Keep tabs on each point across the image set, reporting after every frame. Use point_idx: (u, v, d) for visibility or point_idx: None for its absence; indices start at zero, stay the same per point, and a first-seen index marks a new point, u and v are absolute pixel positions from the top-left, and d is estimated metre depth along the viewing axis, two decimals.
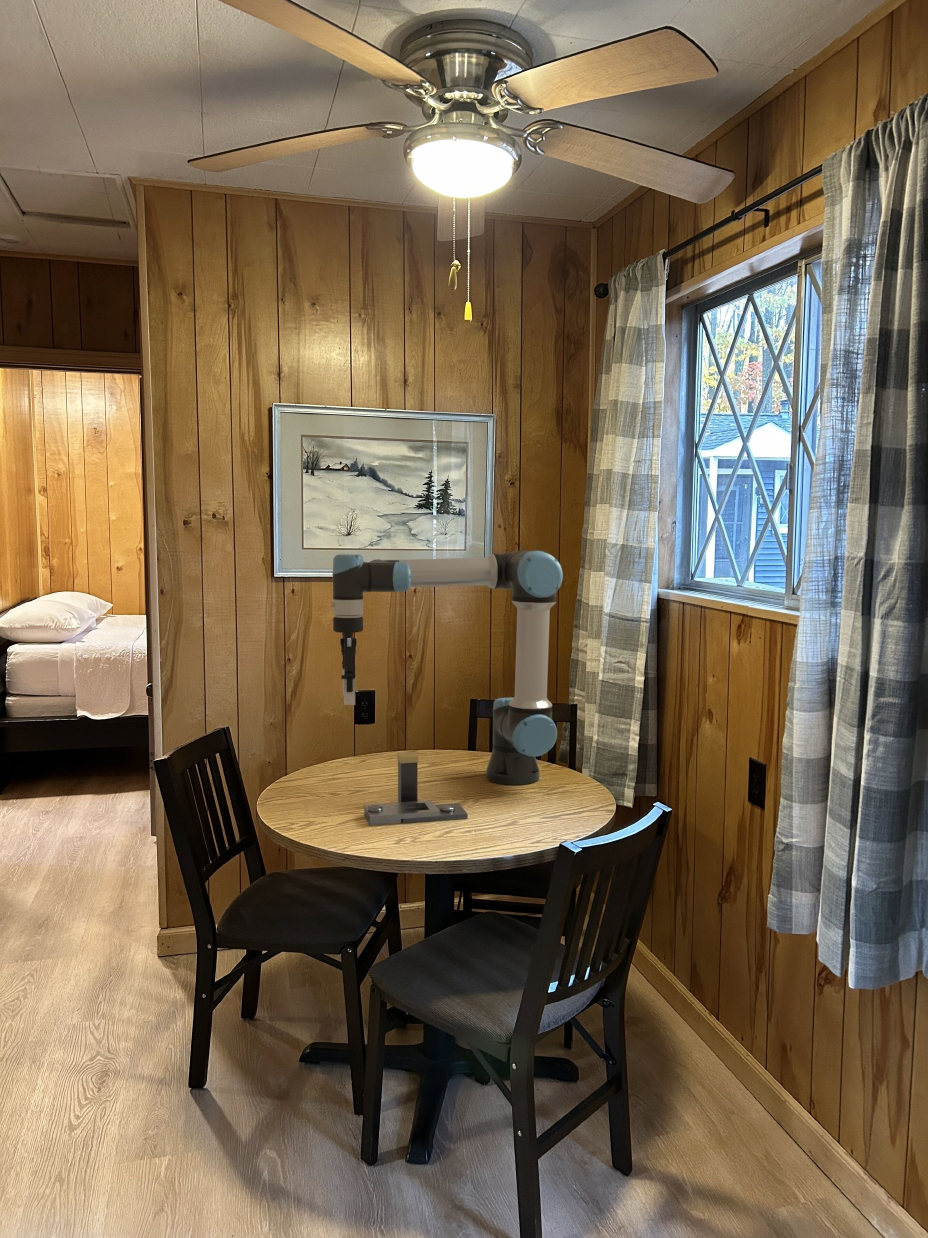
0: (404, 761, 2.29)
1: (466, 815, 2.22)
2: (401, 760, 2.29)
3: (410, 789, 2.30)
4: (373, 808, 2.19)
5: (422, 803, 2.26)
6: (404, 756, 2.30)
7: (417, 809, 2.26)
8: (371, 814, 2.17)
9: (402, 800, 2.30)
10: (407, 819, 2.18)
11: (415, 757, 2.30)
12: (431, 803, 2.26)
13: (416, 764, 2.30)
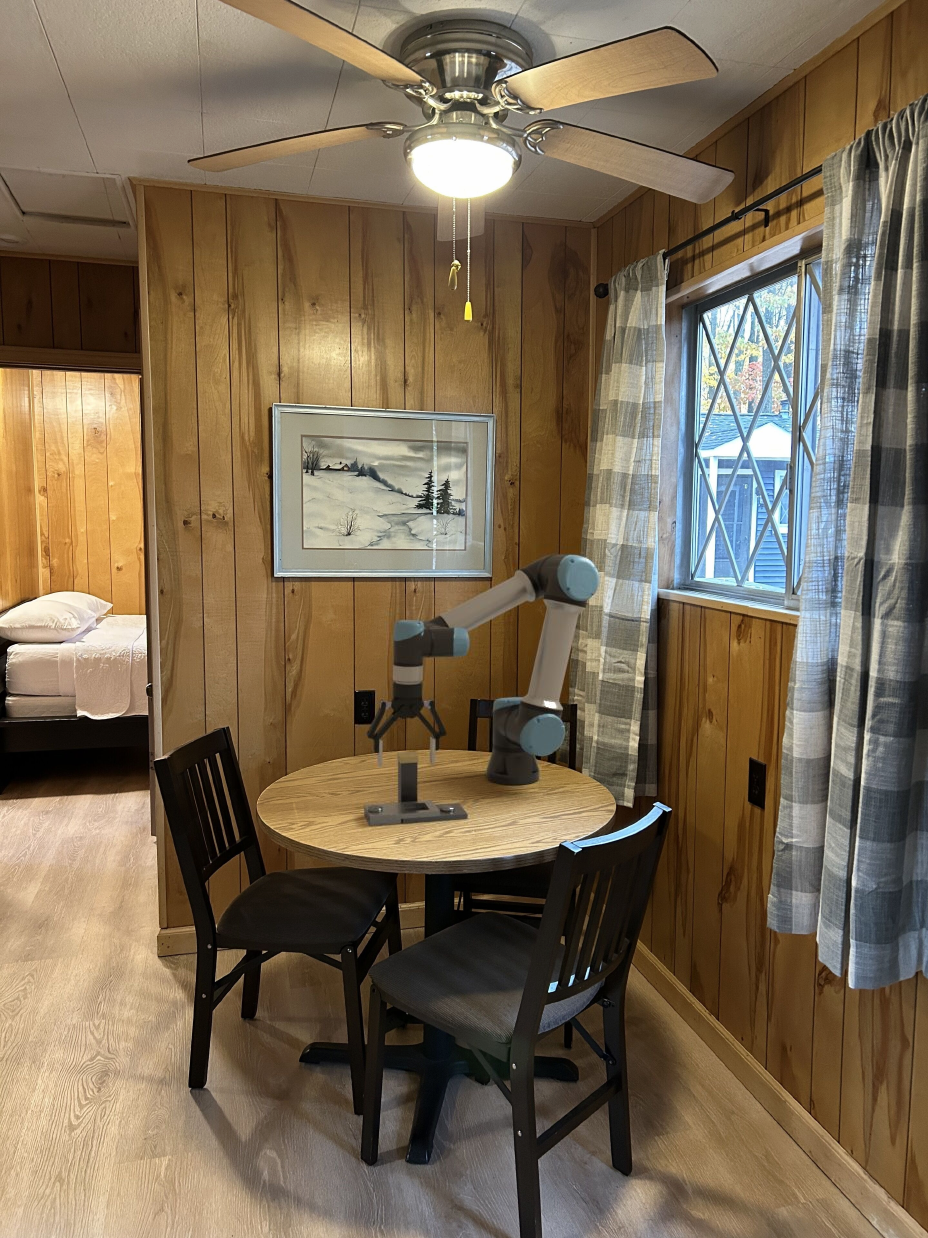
0: (404, 761, 2.29)
1: (466, 815, 2.22)
2: (401, 760, 2.29)
3: (410, 789, 2.30)
4: (373, 808, 2.19)
5: (422, 803, 2.26)
6: (404, 756, 2.30)
7: (417, 809, 2.26)
8: (371, 814, 2.17)
9: (402, 800, 2.30)
10: (407, 819, 2.18)
11: (415, 757, 2.30)
12: (431, 803, 2.26)
13: (416, 764, 2.30)
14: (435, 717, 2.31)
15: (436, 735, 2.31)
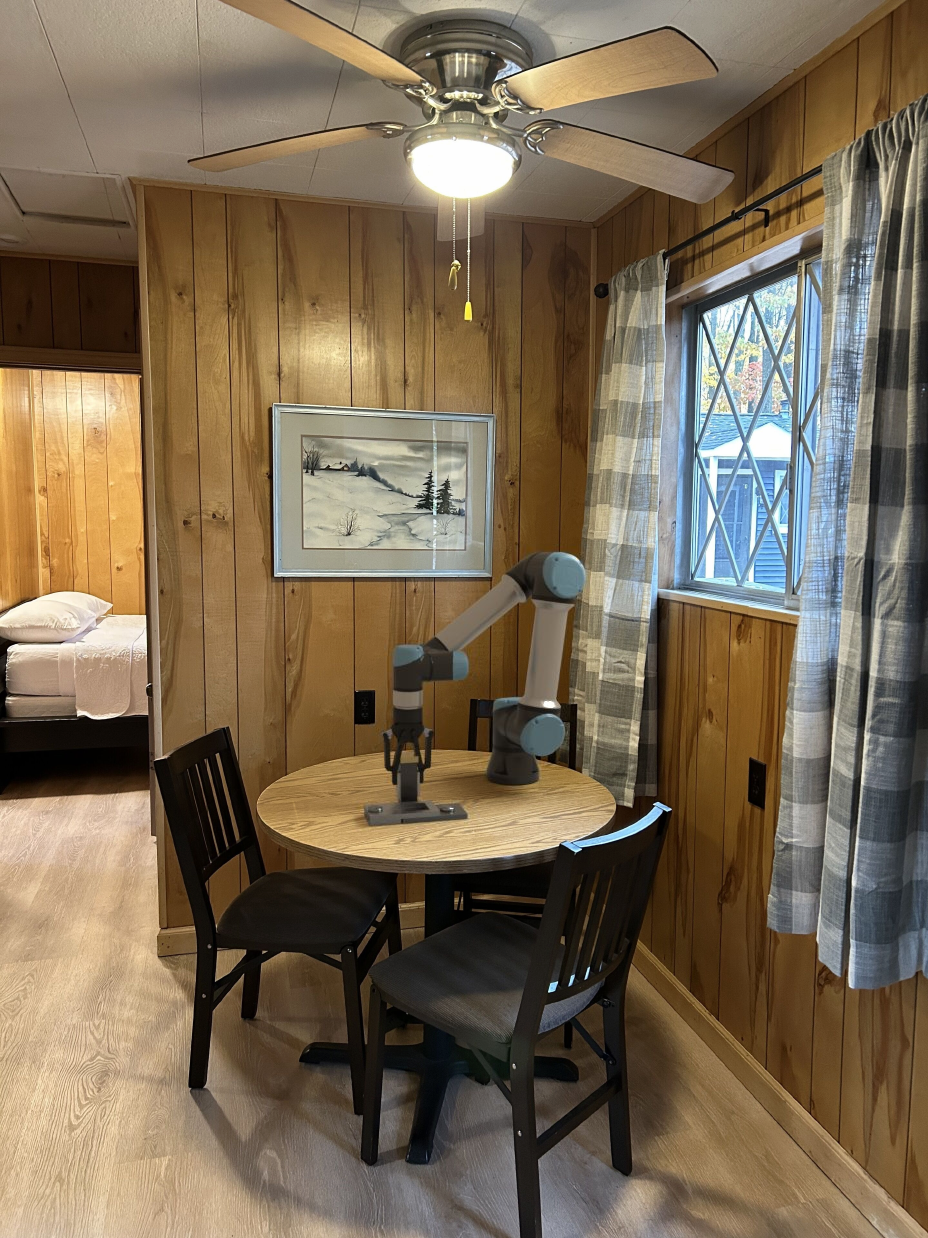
0: (404, 761, 2.29)
1: (466, 815, 2.22)
2: (401, 760, 2.29)
3: (410, 789, 2.30)
4: (373, 808, 2.19)
5: (422, 803, 2.26)
6: (404, 756, 2.30)
7: (417, 809, 2.26)
8: (371, 814, 2.17)
9: (402, 800, 2.30)
10: (407, 819, 2.18)
11: (415, 757, 2.30)
12: (431, 803, 2.26)
13: (416, 764, 2.30)
14: (428, 747, 2.31)
15: (421, 768, 2.31)
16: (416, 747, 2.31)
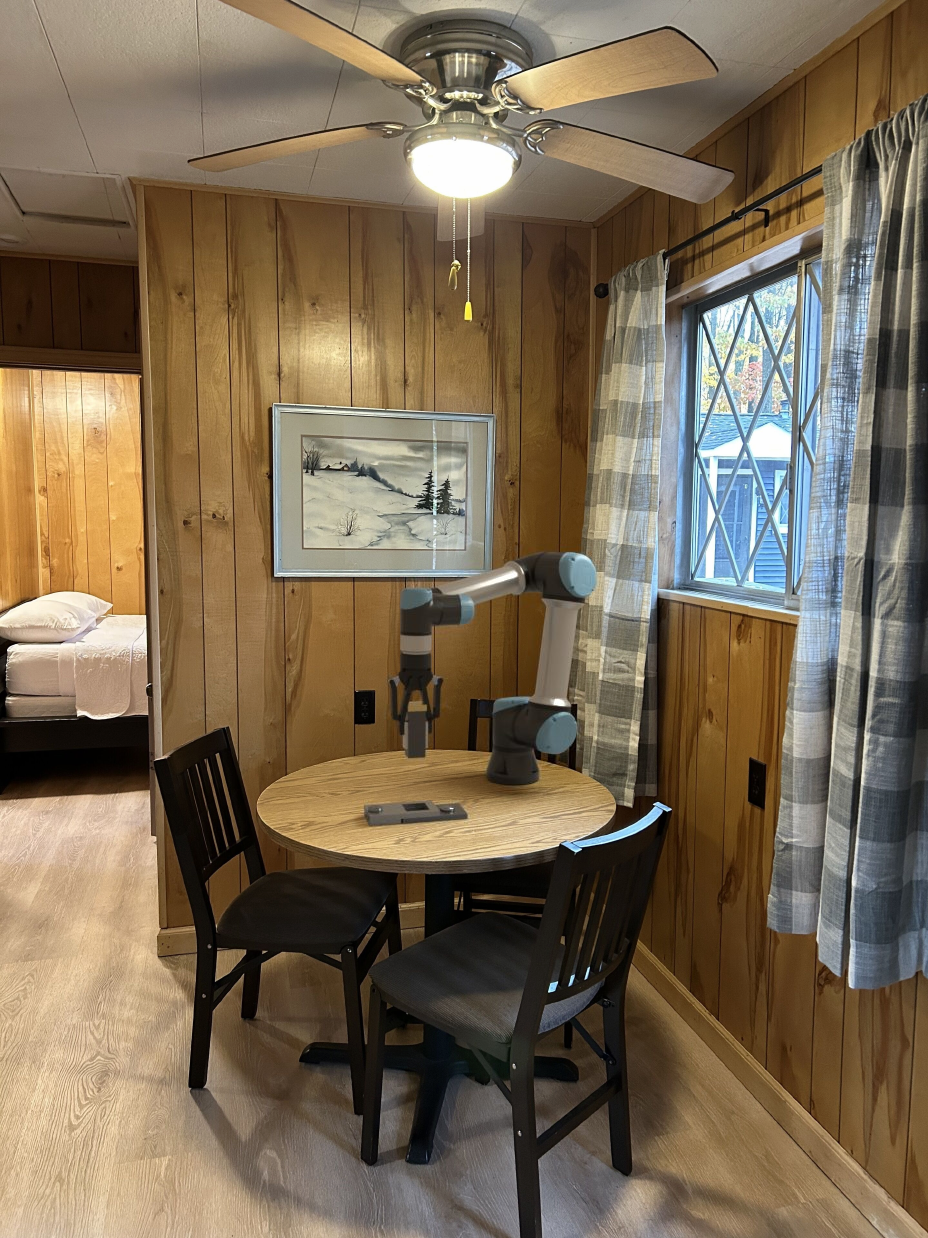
0: (412, 709, 2.18)
1: (466, 815, 2.22)
2: (409, 708, 2.18)
3: (418, 739, 2.19)
4: (373, 808, 2.19)
5: (422, 803, 2.26)
6: (412, 704, 2.18)
7: (417, 809, 2.26)
8: (371, 814, 2.17)
9: (409, 750, 2.19)
10: (407, 819, 2.18)
11: (423, 705, 2.18)
12: (431, 803, 2.26)
13: (424, 713, 2.19)
14: (437, 695, 2.20)
15: (429, 717, 2.20)
16: (424, 695, 2.19)
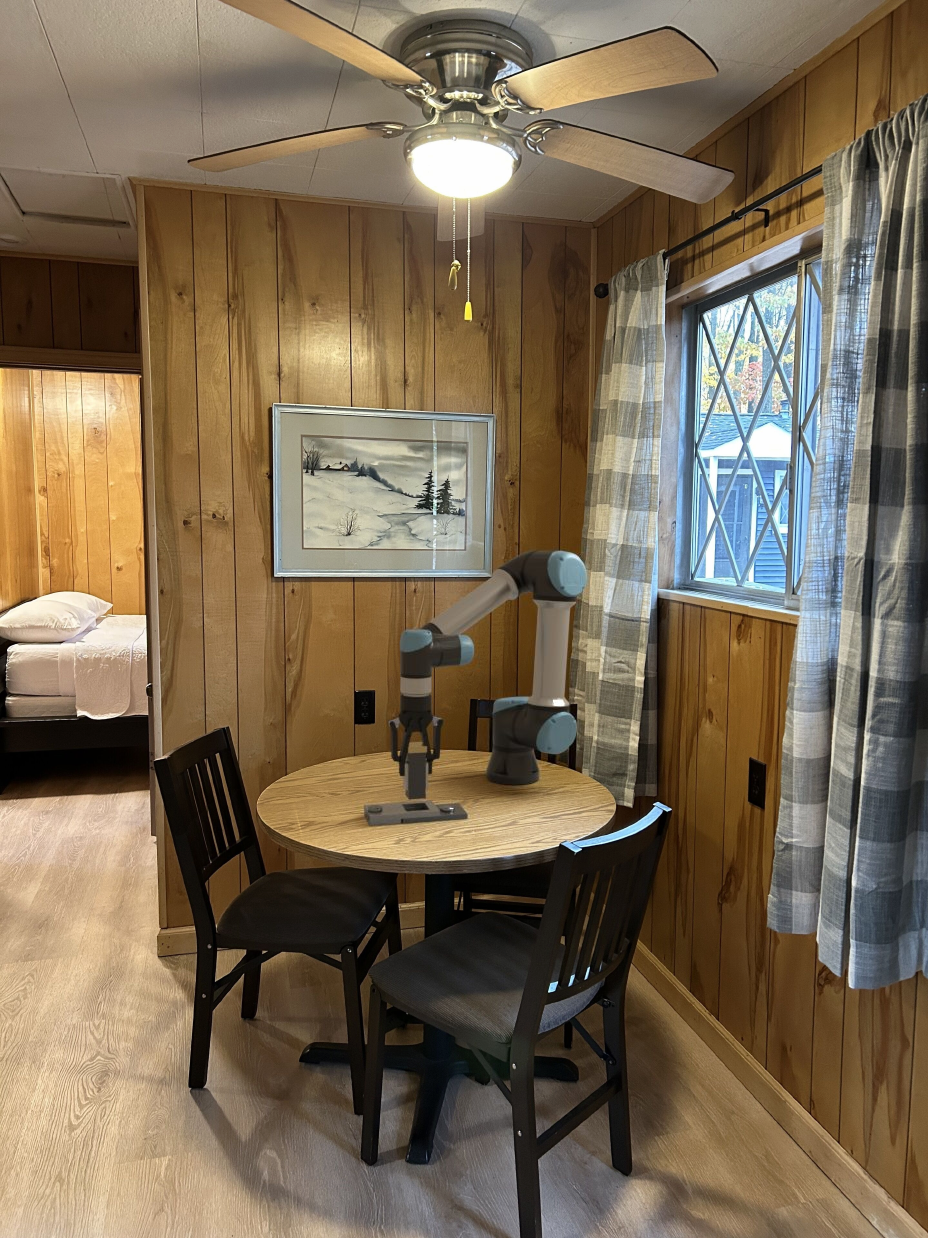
0: (412, 751, 2.19)
1: (466, 815, 2.22)
2: (409, 750, 2.19)
3: (418, 780, 2.20)
4: (373, 808, 2.19)
5: (422, 803, 2.26)
6: (412, 746, 2.20)
7: (417, 809, 2.26)
8: (371, 814, 2.17)
9: (410, 792, 2.20)
10: (407, 819, 2.18)
11: (423, 747, 2.19)
12: (431, 803, 2.26)
13: (424, 754, 2.20)
14: (437, 737, 2.21)
15: (429, 758, 2.21)
16: (424, 736, 2.20)
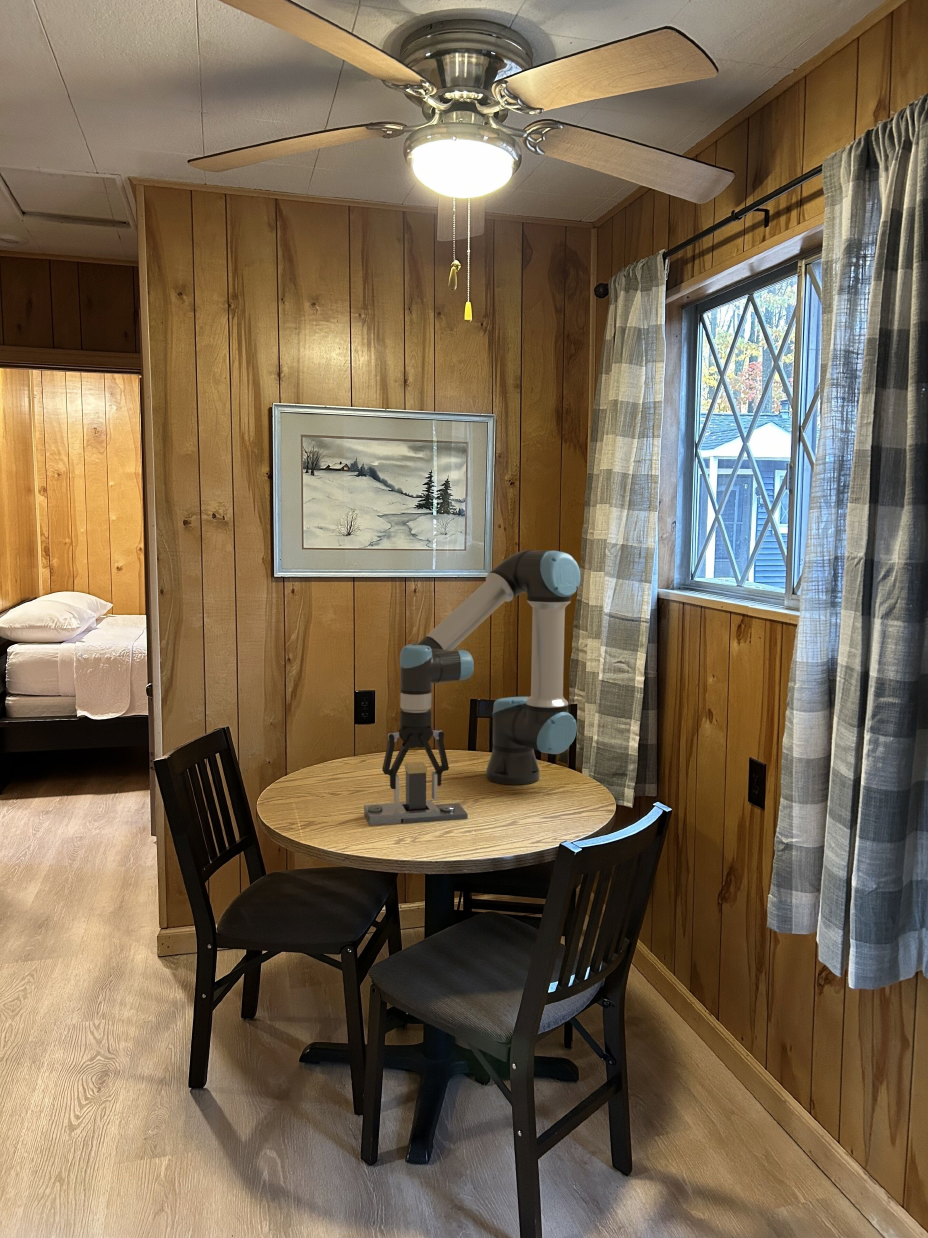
0: (412, 771, 2.19)
1: (466, 815, 2.22)
2: (409, 770, 2.19)
3: (418, 800, 2.21)
4: (373, 808, 2.19)
5: None
6: (412, 766, 2.20)
7: None
8: (371, 814, 2.17)
9: None
10: (407, 819, 2.18)
11: (424, 767, 2.20)
12: (431, 803, 2.26)
13: (425, 774, 2.20)
14: (441, 749, 2.22)
15: (438, 770, 2.22)
16: (428, 751, 2.21)
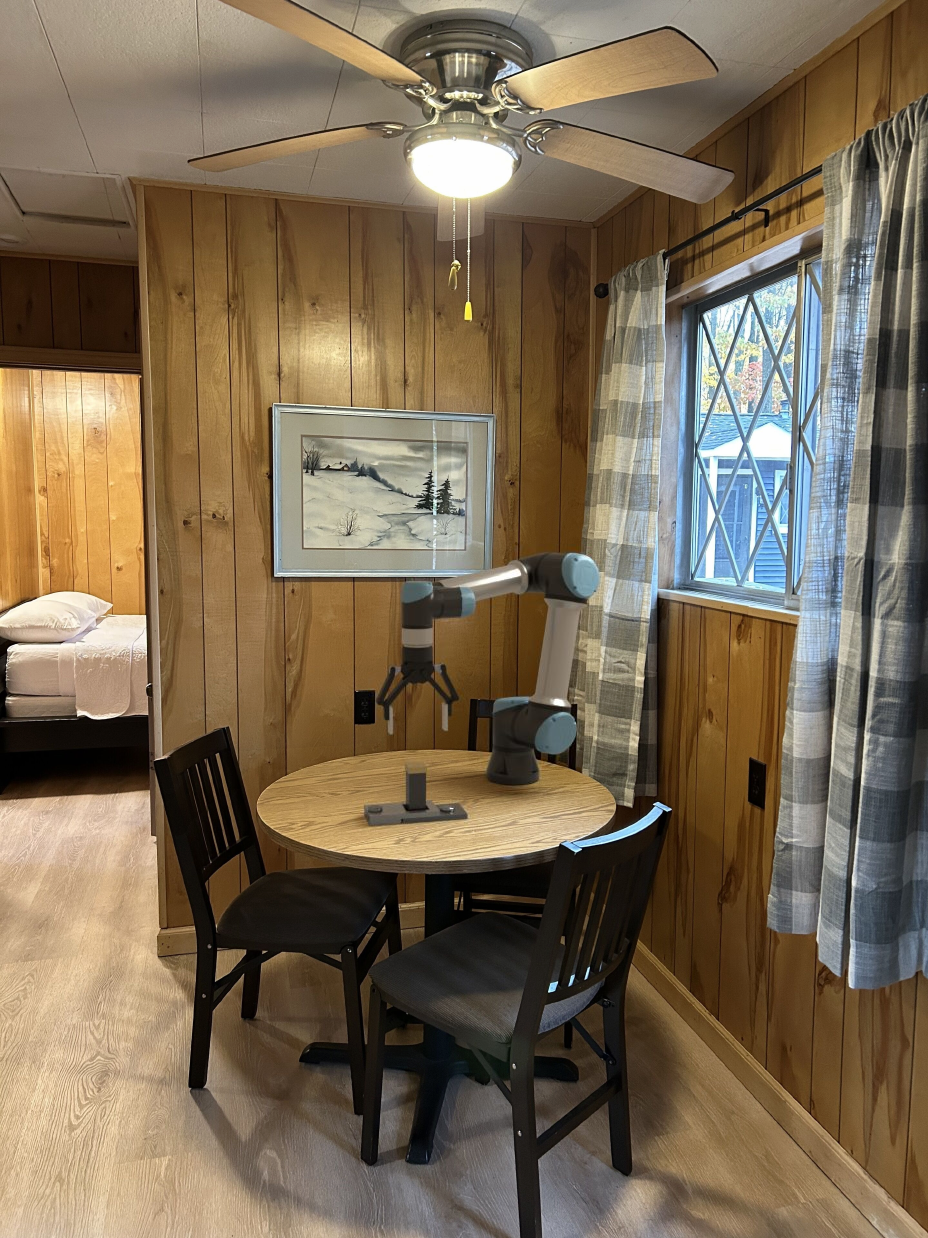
0: (412, 771, 2.19)
1: (466, 815, 2.22)
2: (409, 770, 2.19)
3: (418, 800, 2.21)
4: (373, 808, 2.19)
5: None
6: (412, 766, 2.20)
7: None
8: (371, 814, 2.17)
9: None
10: (407, 819, 2.18)
11: (424, 767, 2.20)
12: (431, 803, 2.26)
13: (425, 774, 2.20)
14: (447, 681, 2.21)
15: (448, 700, 2.22)
16: (434, 684, 2.21)
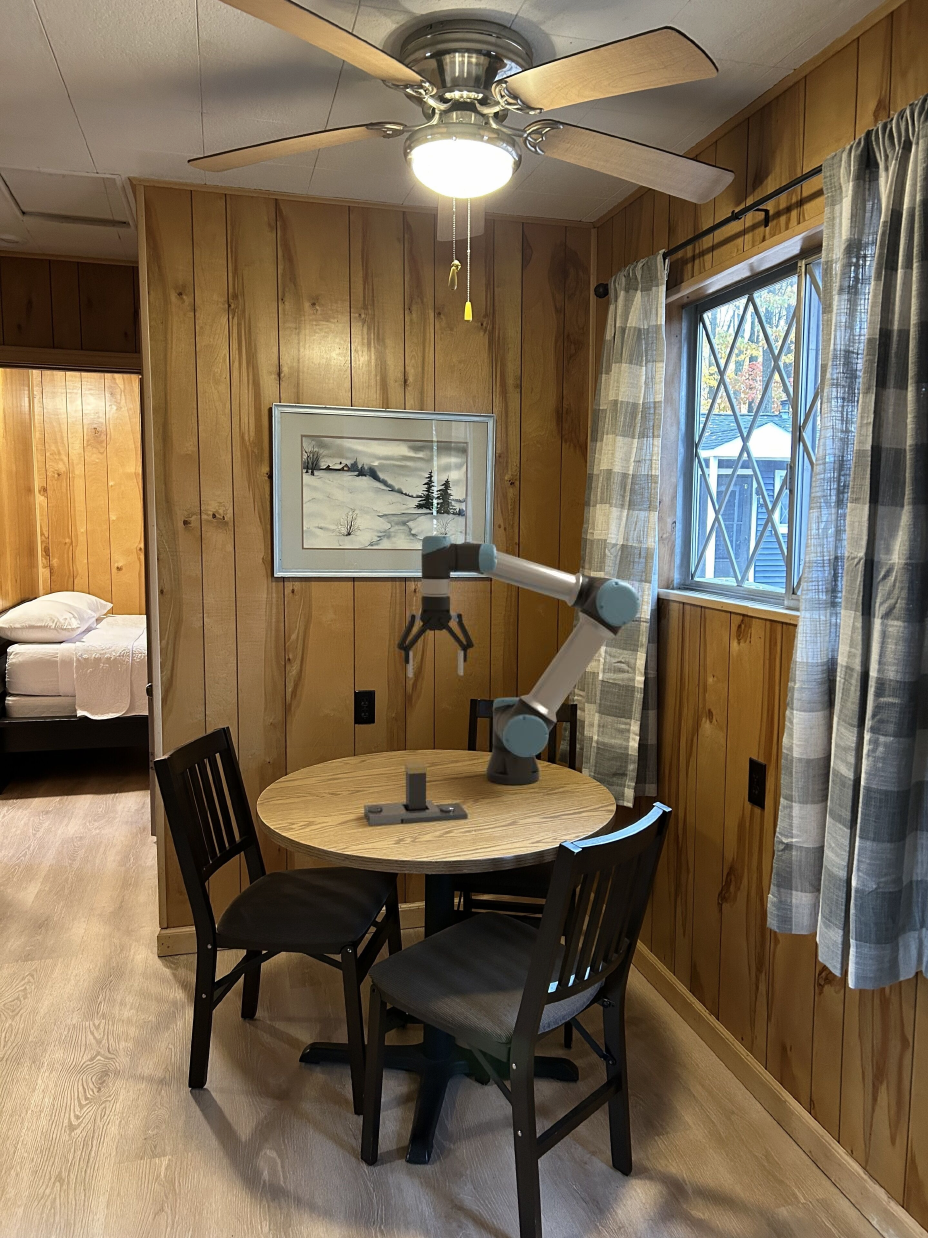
0: (412, 771, 2.19)
1: (466, 815, 2.22)
2: (409, 770, 2.19)
3: (418, 800, 2.21)
4: (373, 808, 2.19)
5: None
6: (412, 766, 2.20)
7: None
8: (371, 814, 2.17)
9: None
10: (407, 819, 2.18)
11: (424, 767, 2.20)
12: (431, 803, 2.26)
13: (425, 774, 2.20)
14: (463, 629, 2.39)
15: (464, 647, 2.39)
16: (450, 631, 2.38)
